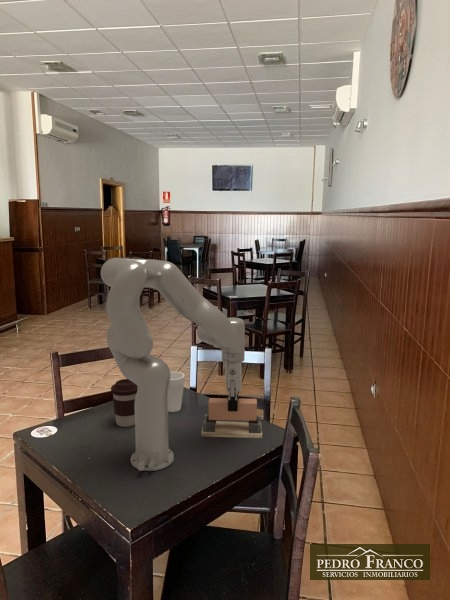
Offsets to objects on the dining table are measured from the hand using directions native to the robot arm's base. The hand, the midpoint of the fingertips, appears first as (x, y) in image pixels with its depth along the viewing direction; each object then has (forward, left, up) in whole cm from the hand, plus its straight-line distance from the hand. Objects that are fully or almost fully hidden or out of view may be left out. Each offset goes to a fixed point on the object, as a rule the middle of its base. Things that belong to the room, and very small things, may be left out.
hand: (232, 407), depth 148 cm
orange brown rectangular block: (0, 0, -4) cm, 4 cm away
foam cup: (+17, +23, -9) cm, 30 cm away
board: (0, 0, -8) cm, 8 cm away
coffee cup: (+4, +37, -9) cm, 38 cm away
